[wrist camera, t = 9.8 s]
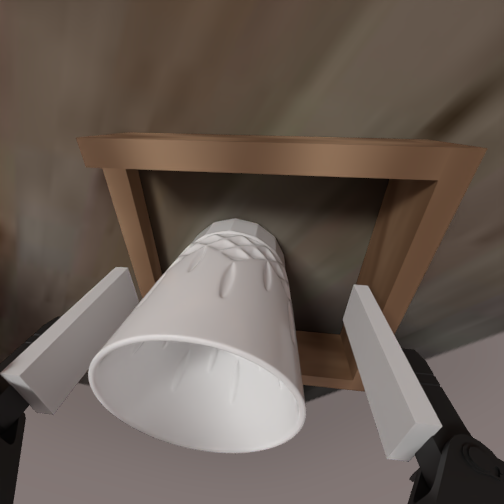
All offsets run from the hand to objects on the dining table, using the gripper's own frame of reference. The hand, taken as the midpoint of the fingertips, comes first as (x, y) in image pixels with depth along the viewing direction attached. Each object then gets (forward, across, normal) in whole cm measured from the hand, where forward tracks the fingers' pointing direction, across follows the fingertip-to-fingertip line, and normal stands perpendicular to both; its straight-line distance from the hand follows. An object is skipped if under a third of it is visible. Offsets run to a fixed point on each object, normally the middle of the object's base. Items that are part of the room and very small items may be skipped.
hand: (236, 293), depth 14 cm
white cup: (+4, 0, 0) cm, 4 cm away
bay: (+4, +1, 0) cm, 4 cm away
